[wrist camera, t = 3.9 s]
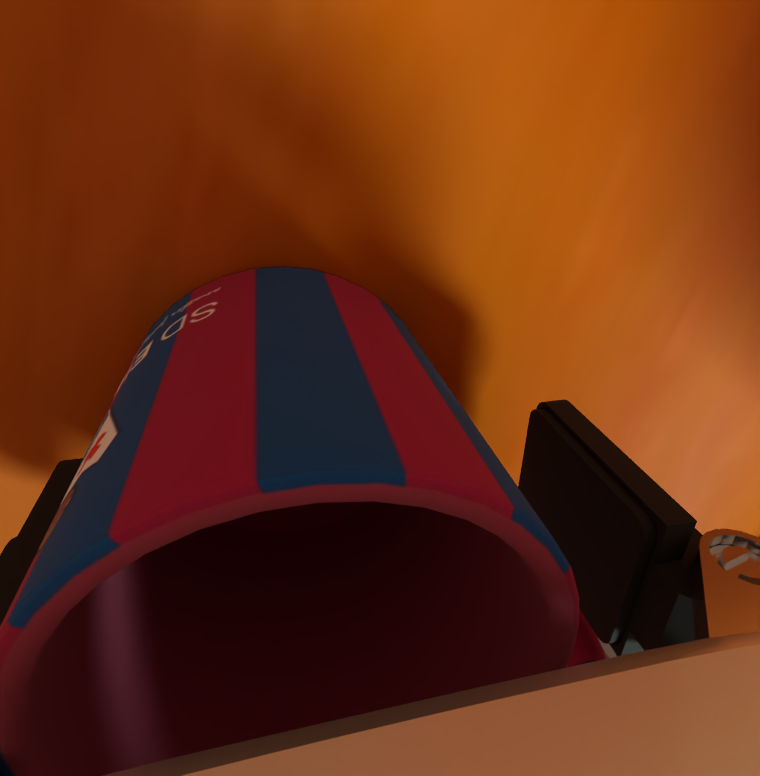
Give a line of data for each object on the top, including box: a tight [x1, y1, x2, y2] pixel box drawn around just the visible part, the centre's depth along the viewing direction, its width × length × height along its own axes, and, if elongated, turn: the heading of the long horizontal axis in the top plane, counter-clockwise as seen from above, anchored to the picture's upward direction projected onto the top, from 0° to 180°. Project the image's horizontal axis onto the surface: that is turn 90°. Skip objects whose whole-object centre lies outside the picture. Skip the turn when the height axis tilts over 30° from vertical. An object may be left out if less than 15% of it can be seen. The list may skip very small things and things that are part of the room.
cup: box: [0, 267, 606, 776], centre depth 10 cm, size 7×10×7 cm
